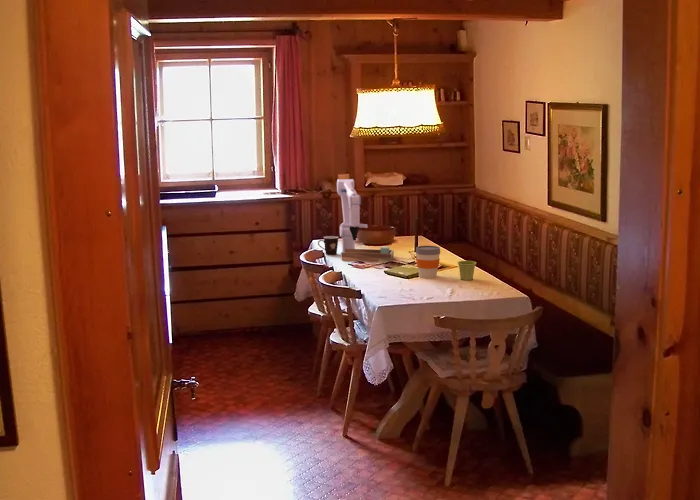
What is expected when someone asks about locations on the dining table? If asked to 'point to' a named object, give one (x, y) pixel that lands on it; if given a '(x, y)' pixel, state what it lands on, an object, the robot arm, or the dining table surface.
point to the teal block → (385, 250)
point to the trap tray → (366, 255)
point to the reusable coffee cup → (427, 261)
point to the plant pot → (466, 269)
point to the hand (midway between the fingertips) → (354, 240)
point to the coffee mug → (330, 245)
